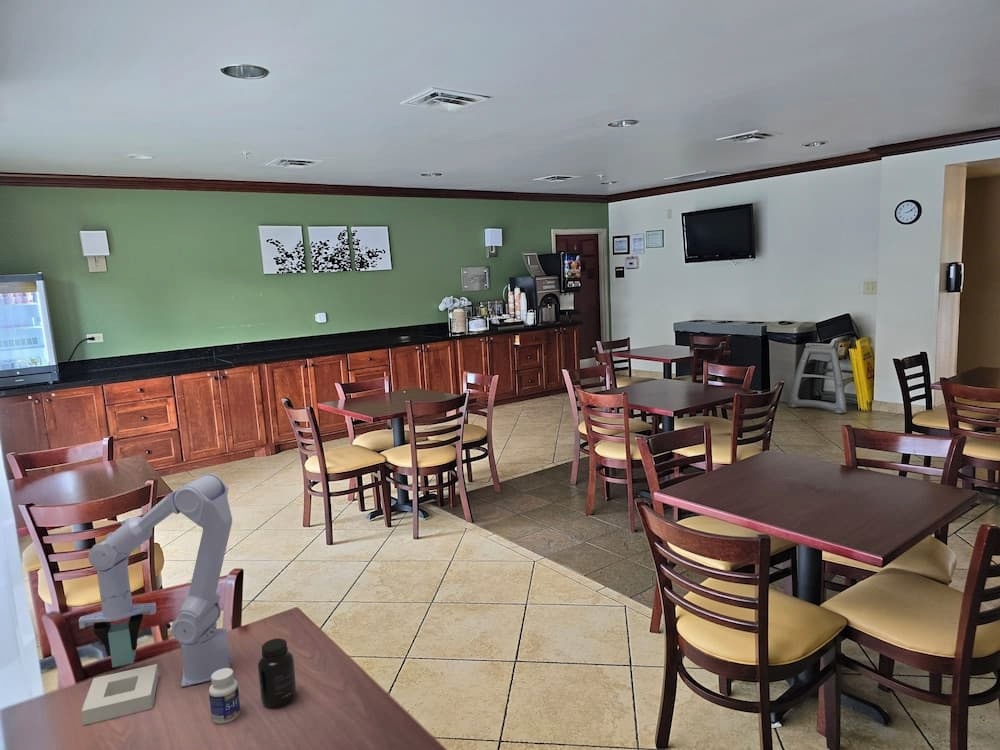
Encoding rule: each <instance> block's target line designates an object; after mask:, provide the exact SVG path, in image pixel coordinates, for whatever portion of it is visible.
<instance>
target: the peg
mask: <svg viewBox="0 0 1000 750" xmlns="http://www.w3.org/2000/svg"><path fill="white" fill-rule="evenodd" d="M128 623H129V621H128V620H127V621H123V622H117V623H113V624H112V623H111V624H110V625H111V626H110V629H109V631H108V638H109V645H110V653H111V655H110V659H111V667H112V668H116V667H117V668H118V667H122V666H127V665H131V664H134V662H135V658H136V655H137V653H136V650H132V643H131V633H130V629H129V625H128Z"/></svg>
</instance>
